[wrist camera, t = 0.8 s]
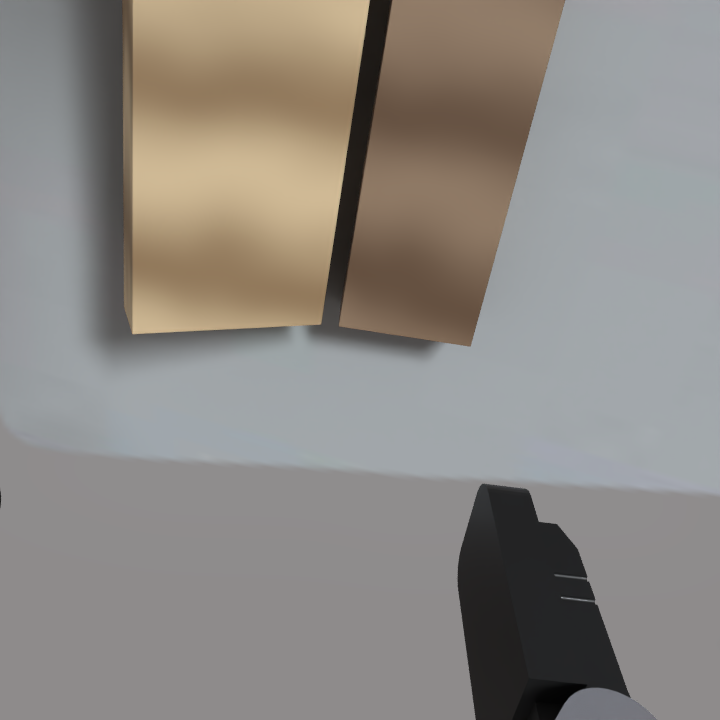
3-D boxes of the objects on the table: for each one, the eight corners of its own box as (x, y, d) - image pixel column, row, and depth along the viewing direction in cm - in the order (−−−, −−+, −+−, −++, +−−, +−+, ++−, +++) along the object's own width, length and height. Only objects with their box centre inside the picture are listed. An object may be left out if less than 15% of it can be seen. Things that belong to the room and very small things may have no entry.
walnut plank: (428, -234, 23) (434, -257, 21) (600, -198, 23) (624, -217, 21) (340, 303, 32) (338, 326, 30) (463, 322, 33) (470, 346, 31)
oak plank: (120, -339, 19) (133, -366, 17) (376, -249, 22) (409, -264, 21) (124, 307, 29) (132, 334, 27) (302, 300, 32) (321, 324, 30)
